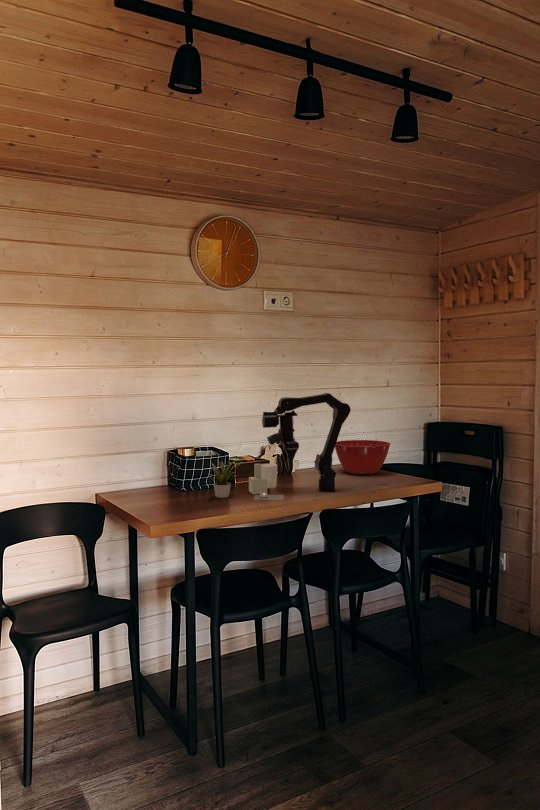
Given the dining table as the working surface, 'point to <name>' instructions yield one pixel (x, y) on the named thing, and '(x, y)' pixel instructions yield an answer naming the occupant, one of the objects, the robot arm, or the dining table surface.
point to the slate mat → (269, 497)
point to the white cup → (269, 474)
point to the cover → (257, 481)
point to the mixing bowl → (362, 455)
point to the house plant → (222, 480)
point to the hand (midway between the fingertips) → (287, 462)
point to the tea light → (263, 495)
